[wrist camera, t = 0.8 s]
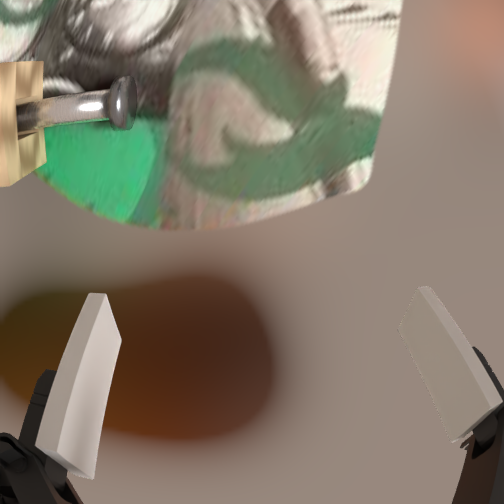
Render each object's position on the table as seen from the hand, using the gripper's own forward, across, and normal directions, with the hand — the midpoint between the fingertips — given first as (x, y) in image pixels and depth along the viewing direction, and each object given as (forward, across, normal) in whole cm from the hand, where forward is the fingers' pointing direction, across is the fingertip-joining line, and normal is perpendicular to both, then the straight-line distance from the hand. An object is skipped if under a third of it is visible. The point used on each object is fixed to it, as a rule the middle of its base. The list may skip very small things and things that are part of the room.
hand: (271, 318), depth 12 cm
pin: (+22, -18, +7) cm, 29 cm away
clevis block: (+22, -28, +7) cm, 36 cm away
